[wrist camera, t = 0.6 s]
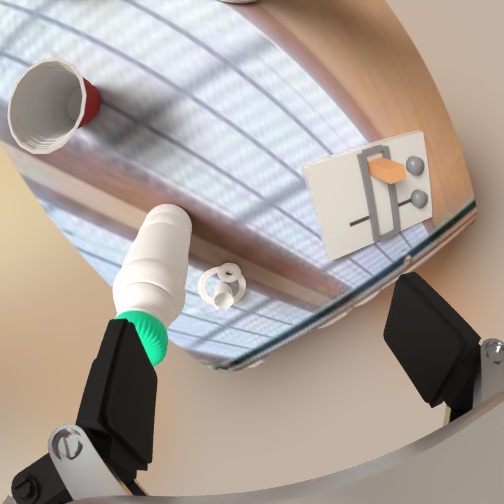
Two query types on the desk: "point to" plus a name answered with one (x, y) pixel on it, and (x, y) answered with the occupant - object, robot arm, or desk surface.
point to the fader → (386, 170)
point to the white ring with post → (223, 286)
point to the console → (368, 194)
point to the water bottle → (155, 277)
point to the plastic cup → (50, 105)
